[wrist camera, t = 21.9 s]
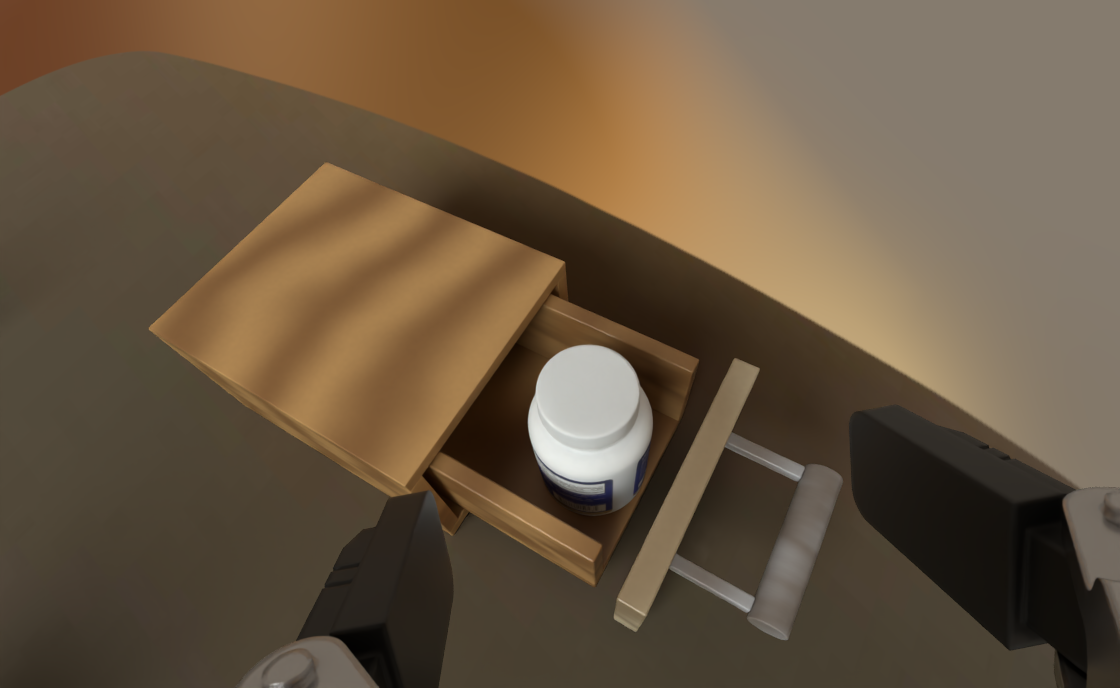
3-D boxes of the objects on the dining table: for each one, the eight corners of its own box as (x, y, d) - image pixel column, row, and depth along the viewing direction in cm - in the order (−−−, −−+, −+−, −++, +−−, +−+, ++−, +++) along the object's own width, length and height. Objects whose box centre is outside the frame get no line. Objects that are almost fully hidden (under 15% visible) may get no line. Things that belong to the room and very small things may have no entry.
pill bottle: (601, 399, 31) (601, 306, 24) (666, 475, 29) (689, 398, 21) (520, 457, 30) (492, 377, 22) (582, 541, 27) (573, 484, 20)
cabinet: (573, 351, 35) (565, 261, 28) (453, 536, 30) (404, 486, 22) (377, 258, 40) (326, 161, 32) (243, 404, 35) (147, 328, 27)
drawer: (824, 472, 29) (878, 418, 24) (741, 697, 25) (784, 700, 19) (506, 322, 35) (487, 250, 30) (390, 481, 31) (340, 432, 25)
